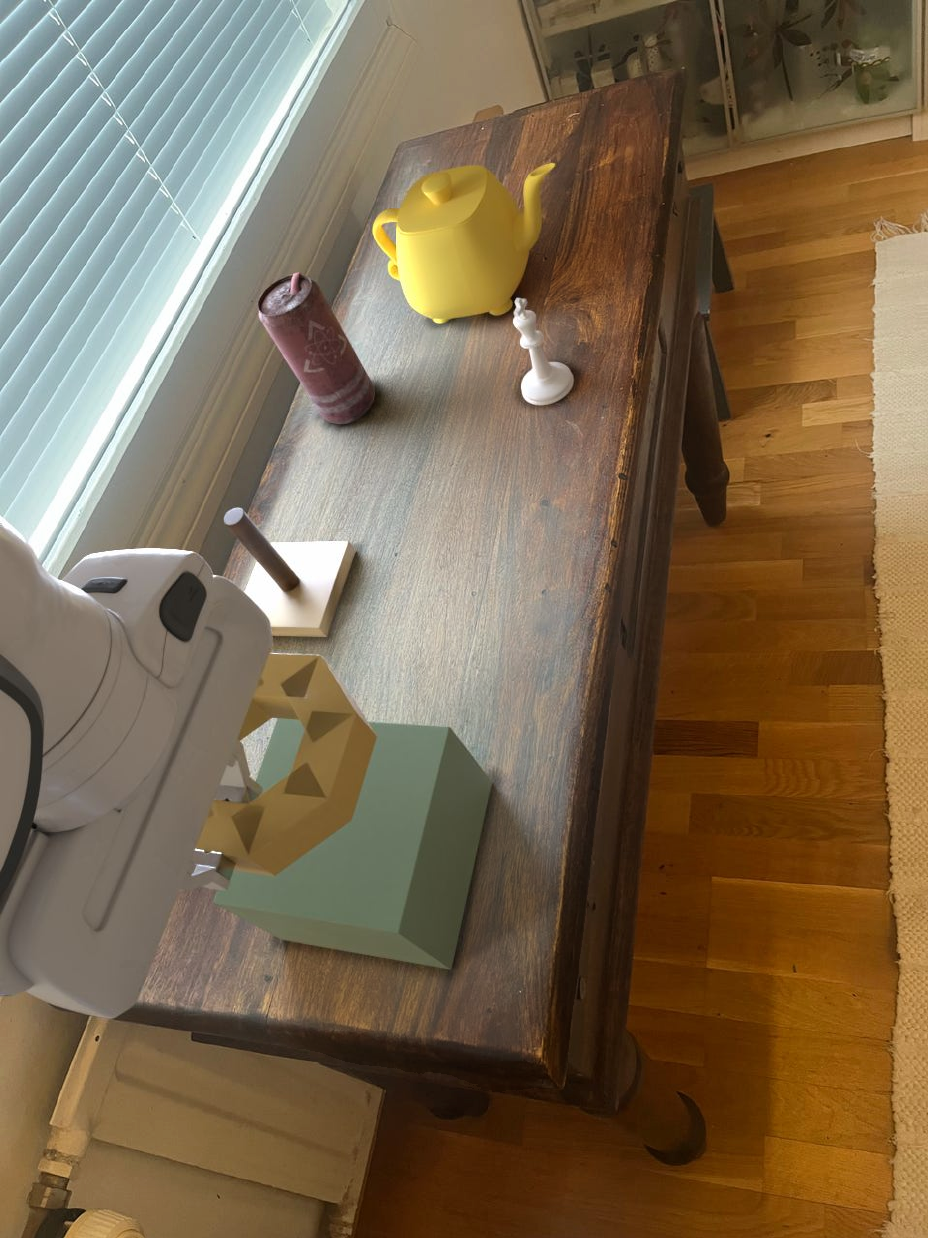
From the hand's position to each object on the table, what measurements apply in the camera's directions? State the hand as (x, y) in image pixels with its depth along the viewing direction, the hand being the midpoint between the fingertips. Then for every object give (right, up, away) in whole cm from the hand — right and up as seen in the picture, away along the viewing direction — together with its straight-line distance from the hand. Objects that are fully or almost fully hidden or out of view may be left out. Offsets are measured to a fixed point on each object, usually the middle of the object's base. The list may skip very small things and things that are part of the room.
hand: (235, 837), depth 49 cm
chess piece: (+20, +33, +37) cm, 53 cm away
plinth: (+7, -5, +16) cm, 18 cm away
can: (+1, +33, +45) cm, 56 cm away
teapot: (+15, +46, +48) cm, 68 cm away
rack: (-3, +14, +33) cm, 36 cm away
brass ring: (+1, +3, +3) cm, 5 cm away
